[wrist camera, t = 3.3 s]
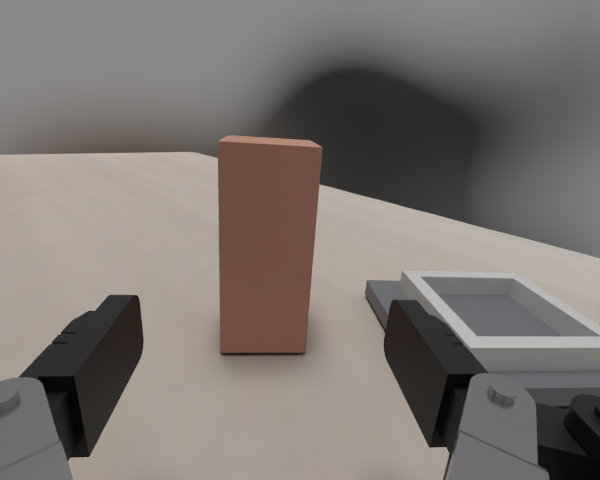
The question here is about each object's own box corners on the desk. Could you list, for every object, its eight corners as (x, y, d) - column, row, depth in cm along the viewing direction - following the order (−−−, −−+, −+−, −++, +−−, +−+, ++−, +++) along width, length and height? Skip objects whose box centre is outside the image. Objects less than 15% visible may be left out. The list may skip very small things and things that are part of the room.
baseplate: (429, 409, 17) (439, 364, 16) (365, 293, 29) (369, 263, 28) (675, 403, 19) (697, 362, 18) (522, 295, 30) (531, 267, 29)
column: (220, 352, 20) (217, 140, 16) (229, 308, 25) (228, 135, 21) (304, 352, 21) (322, 147, 17) (297, 309, 26) (310, 140, 22)
